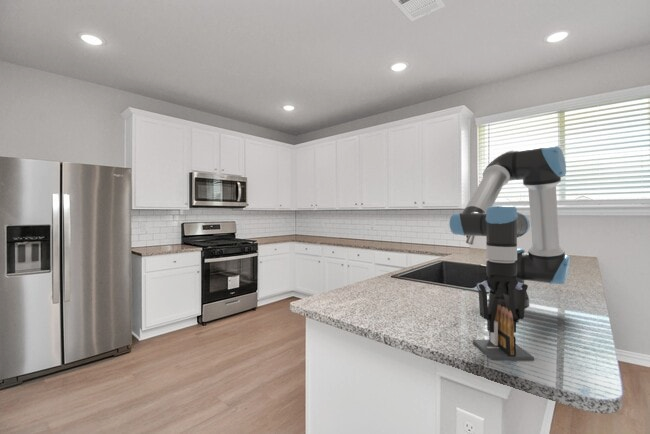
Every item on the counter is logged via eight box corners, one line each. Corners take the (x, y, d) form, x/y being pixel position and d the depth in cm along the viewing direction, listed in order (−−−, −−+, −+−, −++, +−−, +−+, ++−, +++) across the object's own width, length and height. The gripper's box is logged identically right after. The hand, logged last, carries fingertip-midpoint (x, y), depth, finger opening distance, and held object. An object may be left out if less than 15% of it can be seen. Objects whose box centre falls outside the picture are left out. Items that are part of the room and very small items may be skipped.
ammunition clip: (488, 339, 92) (488, 299, 92) (495, 339, 92) (494, 299, 91) (509, 356, 81) (508, 311, 81) (516, 356, 81) (515, 311, 81)
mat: (510, 342, 92) (510, 339, 92) (534, 360, 81) (534, 356, 81) (473, 342, 92) (473, 339, 92) (491, 359, 81) (491, 356, 81)
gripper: (523, 258, 89) (523, 338, 90) (465, 258, 90) (466, 337, 90) (540, 262, 82) (540, 349, 82) (477, 263, 83) (477, 349, 83)
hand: (501, 343), depth 86 cm, fingers open, 3 cm apart
